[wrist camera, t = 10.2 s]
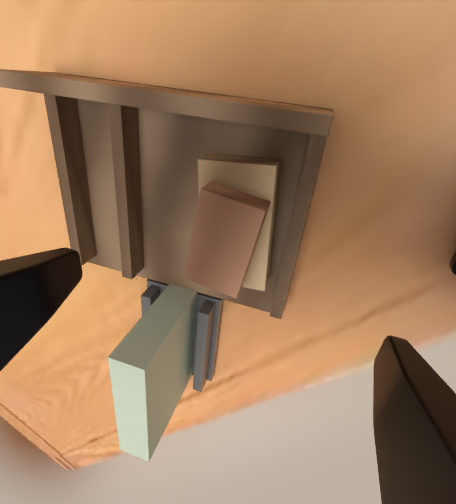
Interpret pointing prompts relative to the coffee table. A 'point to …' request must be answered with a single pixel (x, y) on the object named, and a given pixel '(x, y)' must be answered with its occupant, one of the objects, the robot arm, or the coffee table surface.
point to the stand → (196, 330)
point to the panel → (153, 370)
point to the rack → (169, 170)
